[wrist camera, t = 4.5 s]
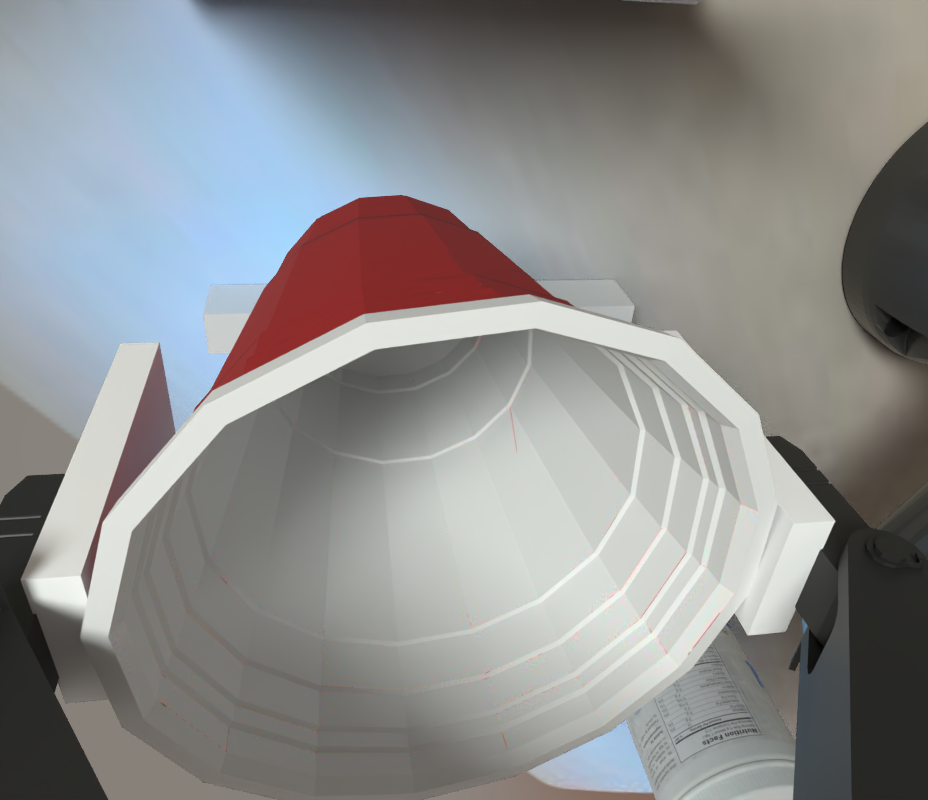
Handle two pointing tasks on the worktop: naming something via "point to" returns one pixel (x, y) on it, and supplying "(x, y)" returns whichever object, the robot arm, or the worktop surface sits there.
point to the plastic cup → (423, 526)
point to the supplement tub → (715, 733)
